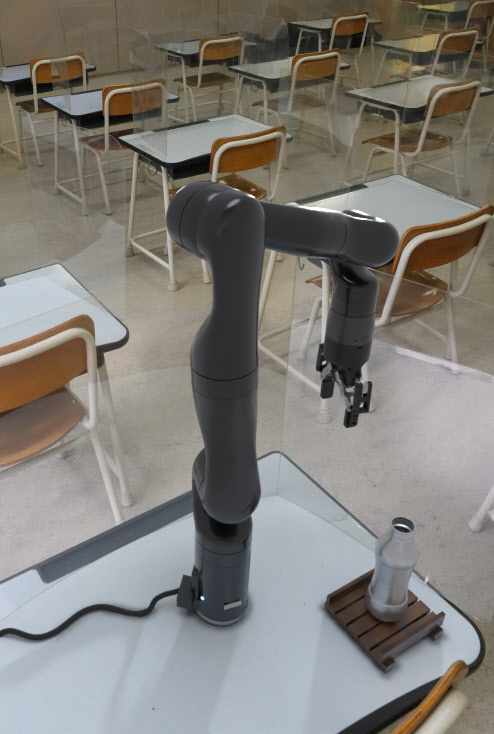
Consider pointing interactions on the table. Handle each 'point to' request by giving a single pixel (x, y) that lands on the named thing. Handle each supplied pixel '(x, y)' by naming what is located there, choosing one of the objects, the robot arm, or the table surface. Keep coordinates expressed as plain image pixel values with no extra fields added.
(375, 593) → the silver metal bottle
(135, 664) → the table surface
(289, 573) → the table surface
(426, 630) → the wooden slatted rack
